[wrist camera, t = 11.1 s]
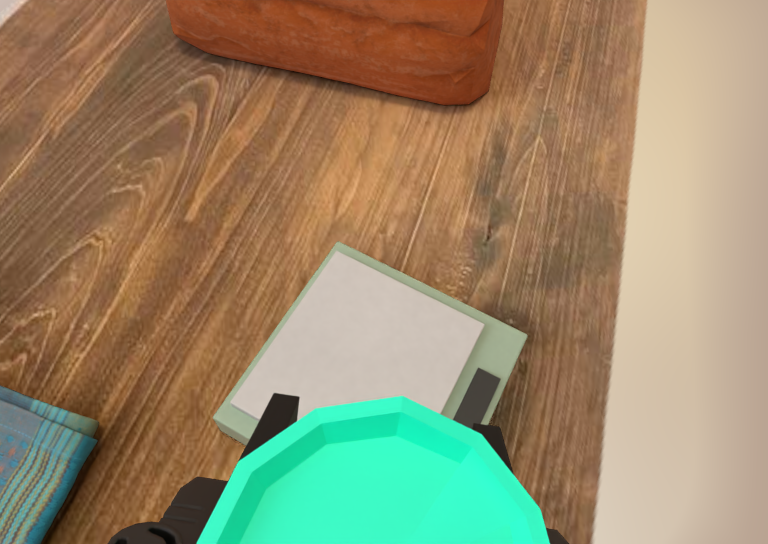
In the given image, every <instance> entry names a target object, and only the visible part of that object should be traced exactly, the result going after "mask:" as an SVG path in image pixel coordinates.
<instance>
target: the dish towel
mask: <svg viewBox="0 0 768 544" xmlns="http://www.w3.org/2000/svg"><path fill="white" fill-rule="evenodd" d="M98 425H99V422H98V421H96V420H94V419H91V418H88V417H85V416H82V415H79V414H76V413H73V412H70V411H67V410H64V409H62V408H59V407H56V406H53V405H50V404H47V403H45V402H41V401H39V400H36V399H34V398H31V397H28V396H25V395H23V394H21V393H18V392H16V391H14V390H11V389H8V388H5V387H3V386H1V385H0V544H41V542H42V540H43V538H44V536H45V534H46V532H47V531H48V529H49V528H50V526H51V525H52V522H53V520H54V518H55V516H56V515H57V513H58V511H59V510H60V508H61V507H62V505H63V503H64V501H65V499H66V498H67V495H68V493H69V491H70V490H71V489H72V487H73V484H74V482H75V480H76V477H77V474H78V472H79V471H80V470H81V468H82V466H83V464H84V462H85V461H86V459H87V457H88V456H89V454H90V453H91V451H92V449H93V448H94V446H95V445H96V443H97V440H96V439H94V438H93V436H94V434H95V432H96V430H97V427H98Z"/></svg>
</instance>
